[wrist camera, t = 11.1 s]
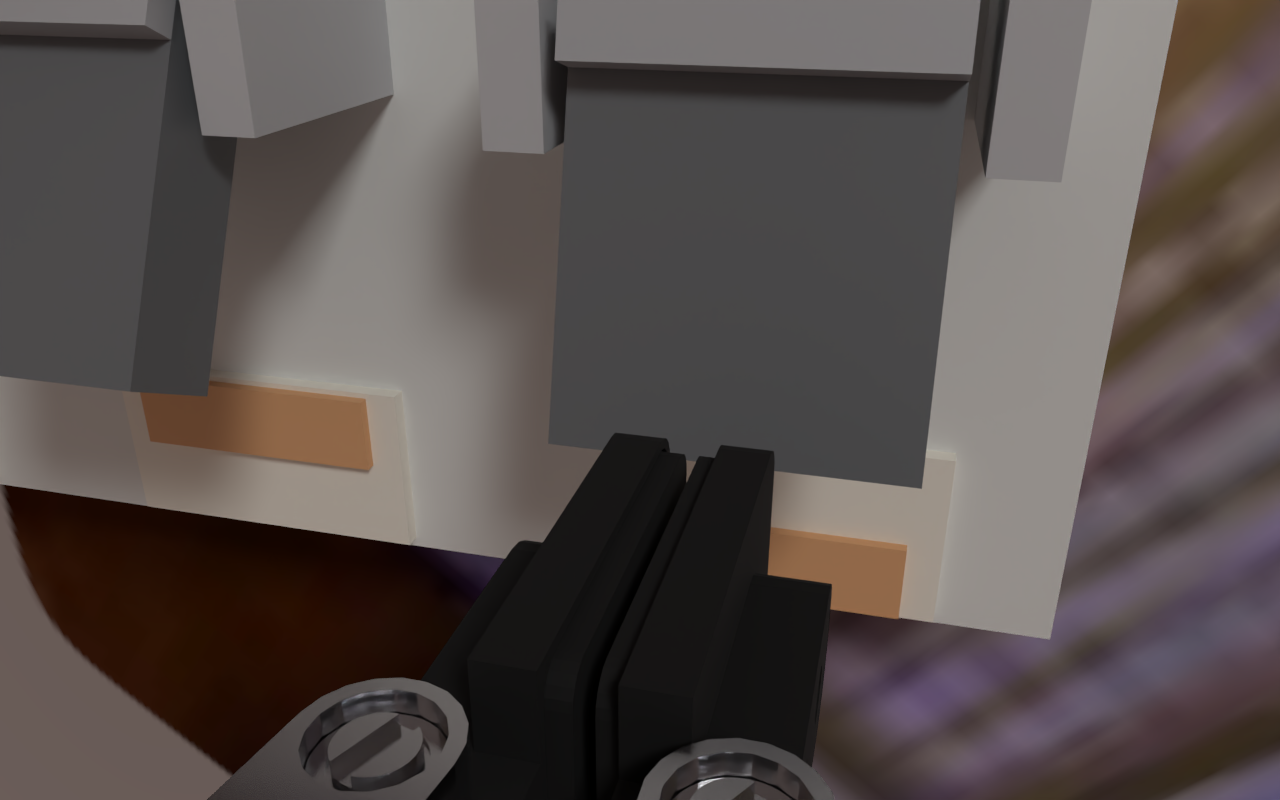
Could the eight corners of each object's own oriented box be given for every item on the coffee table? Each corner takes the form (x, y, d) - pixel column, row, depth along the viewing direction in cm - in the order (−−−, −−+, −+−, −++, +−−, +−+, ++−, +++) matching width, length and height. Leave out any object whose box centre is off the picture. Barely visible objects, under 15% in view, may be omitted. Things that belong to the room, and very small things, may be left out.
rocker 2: (631, -363, 13) (581, -470, 11) (1017, -386, 12) (1040, -510, 10) (584, 421, 15) (534, 451, 13) (920, 460, 14) (922, 498, 12)
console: (-437, -569, 20) (-1161, -827, 13) (1273, -808, 14) (1635, -1592, 7) (-127, 379, 29) (-474, 528, 22) (1031, 523, 22) (1076, 809, 15)
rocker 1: (22, -275, 16) (-102, -377, 14) (286, -287, 15) (194, -400, 13) (-54, 365, 16) (-190, 354, 14) (207, 396, 15) (102, 389, 13)
